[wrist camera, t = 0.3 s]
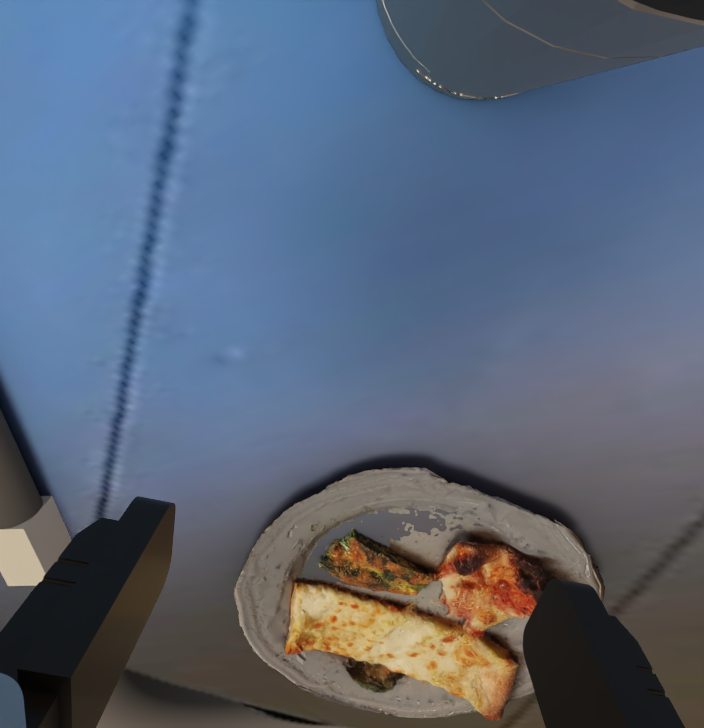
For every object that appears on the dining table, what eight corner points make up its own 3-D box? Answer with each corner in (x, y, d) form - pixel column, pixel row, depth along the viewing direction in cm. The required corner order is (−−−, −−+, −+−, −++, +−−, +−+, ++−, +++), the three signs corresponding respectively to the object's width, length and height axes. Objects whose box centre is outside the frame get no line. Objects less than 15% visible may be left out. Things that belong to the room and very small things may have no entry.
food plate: (662, 547, 32) (691, 592, 29) (482, 720, 42) (490, 767, 39) (316, 405, 29) (307, 438, 26) (211, 626, 39) (195, 670, 36)
